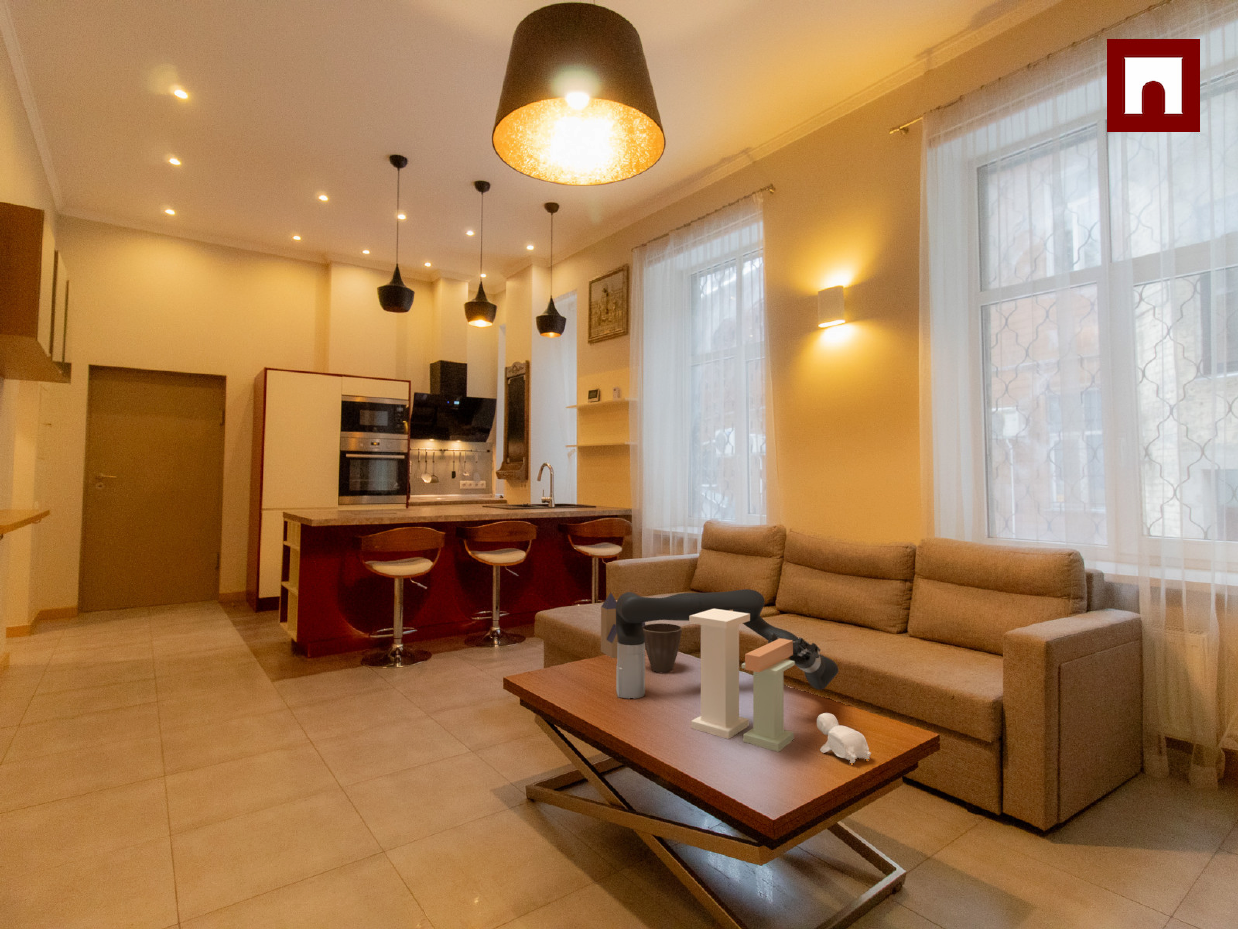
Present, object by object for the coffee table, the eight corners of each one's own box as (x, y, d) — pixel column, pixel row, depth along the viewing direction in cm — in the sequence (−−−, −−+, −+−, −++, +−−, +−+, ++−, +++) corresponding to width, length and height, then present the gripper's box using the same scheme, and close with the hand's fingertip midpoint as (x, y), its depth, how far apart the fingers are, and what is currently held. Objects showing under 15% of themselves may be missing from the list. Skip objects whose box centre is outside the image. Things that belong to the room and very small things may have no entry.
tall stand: (714, 715, 184) (713, 608, 185) (750, 725, 177) (749, 613, 178) (689, 729, 173) (689, 615, 175) (726, 740, 166) (726, 621, 167)
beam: (779, 652, 177) (779, 638, 177) (793, 654, 175) (792, 640, 175) (745, 669, 160) (745, 654, 160) (759, 672, 157) (759, 656, 158)
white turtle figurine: (868, 771, 155) (828, 729, 168) (878, 744, 152) (836, 703, 165) (843, 777, 151) (804, 734, 164) (852, 750, 149) (812, 708, 162)
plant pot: (641, 676, 223) (642, 631, 223) (641, 664, 238) (642, 622, 238) (682, 676, 222) (682, 632, 223) (680, 665, 237) (680, 623, 238)
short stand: (761, 729, 173) (761, 655, 174) (795, 738, 167) (794, 661, 168) (741, 743, 164) (741, 664, 165) (776, 753, 158) (776, 671, 159)
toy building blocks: (600, 651, 256) (601, 591, 257) (641, 647, 264) (641, 589, 265) (612, 659, 245) (612, 596, 246) (653, 654, 252) (654, 593, 253)
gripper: (784, 641, 192) (764, 622, 181) (829, 648, 183) (811, 629, 172) (779, 664, 189) (759, 647, 178) (825, 673, 180) (806, 655, 169)
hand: (785, 638), depth 175 cm, fingers open, 8 cm apart
